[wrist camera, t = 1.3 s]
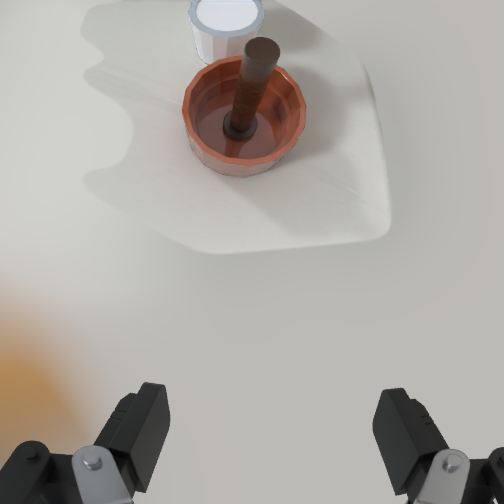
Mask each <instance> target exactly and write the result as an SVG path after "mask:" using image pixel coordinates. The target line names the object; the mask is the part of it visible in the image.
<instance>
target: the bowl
mask: <svg viewBox="0 0 504 504" xmlns="http://www.w3.org/2000/svg"><path fill="white" fill-rule="evenodd" d="M242 57H243V56H234V57H229V58H224V59H219V60H217V61H215V62H213V63H212V64H210V65H209V66H207V67H205V68H204V69H202V70H201V71H199V72H198V73H197V75H196V76H195V77H194V79H193V80H192V82H191V83H190V84H189V86H188V87H187V89H186V91H185V96H184V101H183V107H182V114H183V119H184V123H185V127H186V131H187V135H188V138H189V142H190V146H191V149H192V151H193V152H194V153H195V154H196V155H197V157H198V158H199V159H200V160H201V161H202V163H203V164H204V165H205V166H207V167H209V168H211V169H213V170H215V171H217V172H219V173H221V174H223V175H229V176H237V177H247V176H251V175H255V174H258V173H262V172H265V171H266V170H267V169H269V168H270V167H271V166H273V165H274V164H275V163H277V162H278V161H279V160H280V159H281V158H282V157H283V156H284V155H285V154H286V153H287V152H289V151H290V150H291V149H292V148H293V147H294V145H295V144H296V142H297V140H298V138H299V136H300V135H301V133H302V131H303V129H304V127H305V116H306V104H305V101H304V98H303V96H302V93H301V90H300V88H299V86H298V84H297V83H296V82H295V81H294V80H293V79H292V78H291V76H290V75H289V74H288V73H287V72H286V71H285V70H284V69H282V68H281V67H279V66H277V65H276V66H275V68H274V71H273V73H272V75H271V78H270V80H269V83H268V85H267V87H266V90H265V92H264V95H263V97H262V100H261V102H260V104H259V107H258V109H257V112H256V114H255V116H256V118H257V122H258V126H257V129H256V131H255V133H254V135H253V136H252V137H251V138H250V139H249V140H247V141H243V142H236V141H233V140H231V139H229V138H228V137H227V136H226V135H225V133H224V130H223V121H224V117H225V115H226V114H227V113H228V112H229V111H230V110H232V108H233V102H234V97H235V92H236V87H237V82H238V77H239V72H240V67H241V62H242Z"/></svg>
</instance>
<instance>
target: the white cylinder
mask: <svg viewBox="0 0 504 504" xmlns="http://www.w3.org/2000/svg"><path fill="white" fill-rule="evenodd" d="M188 14H189V18H190V22H191V26H192V30H193V35H194V39H195V43H196V47H197V51H198V55H199V57H200V58H201V59H202V60H203V61H204V62H205V63H207V64H209V65H210V64H212V63H213V62H215V61H217V60H219V59H224V58H229V57H234V56H243V52H244V48H245V45H246V43H247V42H248V41H249V40H251V39H253V38H255V37H256V35H257V33H258V31H259V29H260V27H261V24H262V22H263V19H264V14H265V10H264V7H263V5H262V3H261V1H260V0H193V1H192V2H191V5H190V8H189V11H188Z"/></svg>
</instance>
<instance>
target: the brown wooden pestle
mask: <svg viewBox="0 0 504 504" xmlns="http://www.w3.org/2000/svg"><path fill="white" fill-rule="evenodd" d="M279 57H280V49H279V46H278V45H277V44H276V43H275V42H274V41H273V40H271V39H269V38H265V37H256V38H253V39H251V40H249V41H248V42H247V43H246V45H245V48H244V52H243V57H242V62H241V67H240V72H239V77H238V82H237V87H236V92H235V97H234V102H233V108H232V110H230V111H229V112H228V113H227V114H226V115H225V117H224V121H223V130H224V133H225V135H226V136H227V137H228V138H229V139H231V140H233V141H236V142H243V141H247V140H249V139H250V138H251V137H252V136H253V135H254V133H255V131H256V129H257V126H258V122H257V118H256V116H255V114H256V112H257V109H258V107H259V104H260V102H261V100H262V97H263V95H264V92H265V90H266V87H267V85H268V83H269V80H270V78H271V75H272V73H273V71H274V68H275V66H276V64H277V61H278V59H279Z"/></svg>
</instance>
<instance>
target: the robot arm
mask: <svg viewBox="0 0 504 504" xmlns="http://www.w3.org/2000/svg"><path fill="white" fill-rule="evenodd" d="M169 426H170V411H169V405H168V399H167V393H166V388H165V385H161V384H155V383H148V382H145V383H143V385H142V386H141V388H140V390H139V392H138V393H137V394H135V393H129V394H128V395H127V396H125V397H124V398H122V399H121V400H120V402H119V403H118V405H117V407H116V408H115V411H113V413H112V414H111V416H110V418H109V419H108V421H107V423H106V424H105V426H104V428H103V429H102V431H101V433H100V434H99V436H98V438H97V439H96V441H95V443H94V444H93V445H91V446H85V447H82V448H80V449H79V450H77V451H76V452H75V453H74V455H65V454H52V453H50V452H49V450H48V448H47V447H46V446H45V445H44V444H43V443H41V442H38V441H26V442H23V443H21V444H20V445H19V446H17V448H16V449H15V450H14V452H13V453H12V455H11V456H10V458H9V459H8V460H7V462H6V463H5V465H4V466H3V468H2V469H1V471H0V504H134V502H133V500H132V498H133V496H134V493H135V491H138V492H143V493H146V490H147V487H148V485H149V482H150V479H151V477H152V474H153V471H154V468H155V466H156V463H157V460H158V457H159V455H160V452H161V449H162V446H163V444H164V441H165V438H166V436H167V433H168V430H169ZM373 434H374V436H375V439H376V442H377V444H378V447H379V450H380V453H381V455H382V458H383V461H384V463H385V467H386V469H387V472H388V475H389V478H390V481H391V484H392V486H393V489H394V492H395V495H396V496H397V495H402V494H406V493H407V496H408V500H407V501H406V503H405V504H494V501H493V500H494V498H496V500H497V502H498V504H504V447H501V448H497V449H495V450H494V451H493V452H492V453H491V454H490V456H489V457H488V459H468V457H467V456H466V455H465V454H464V453H463V452H461V451H459V450H456V449H450V448H449V447H448V445H447V443H446V441H445V440H444V438H443V436H442V435H441V433H440V431H439V430H438V428H437V426H436V425H435V424H434V421H433V420H432V418H431V417H429V413H428V411H427V410H426V408H425V407H424V406H423V405H422V404H421V403H419V402H418V401H417V400H416V399H410V398H409V396H408V395H407V393H406V391H405V390H404V389H403V388H394V389H386V390H383V391H382V393H381V396H380V400H379V403H378V406H377V409H376V412H375V415H374V419H373Z"/></svg>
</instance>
